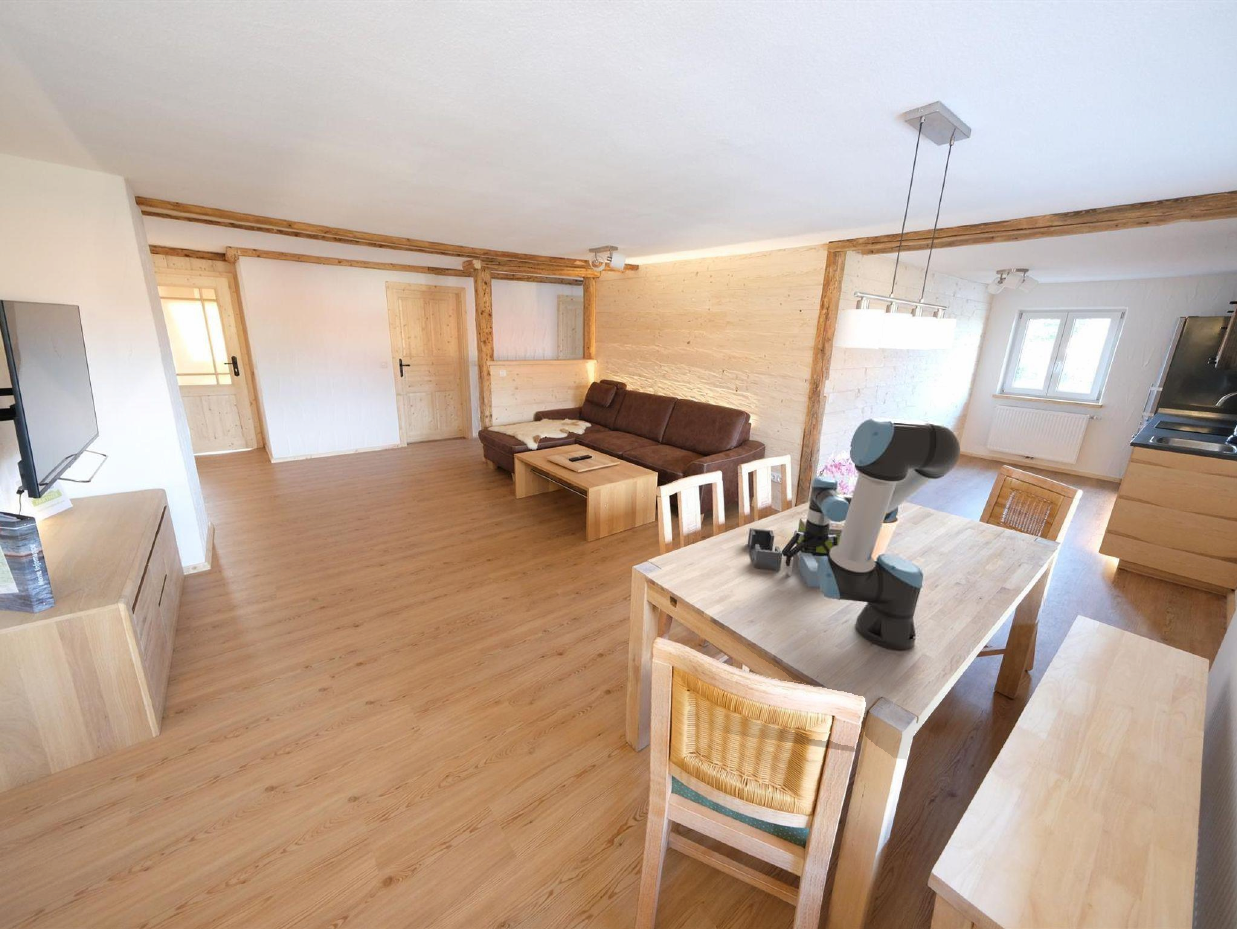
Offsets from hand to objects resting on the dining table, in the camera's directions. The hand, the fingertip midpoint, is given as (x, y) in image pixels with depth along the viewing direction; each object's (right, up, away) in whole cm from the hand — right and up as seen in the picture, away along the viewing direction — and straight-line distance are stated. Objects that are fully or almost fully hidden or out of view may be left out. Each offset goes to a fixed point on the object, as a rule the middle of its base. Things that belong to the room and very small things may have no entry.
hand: (808, 575), depth 167 cm
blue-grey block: (0, 0, 0) cm, 0 cm away
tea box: (+9, +3, +13) cm, 16 cm away
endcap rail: (-12, +4, +13) cm, 18 cm away
